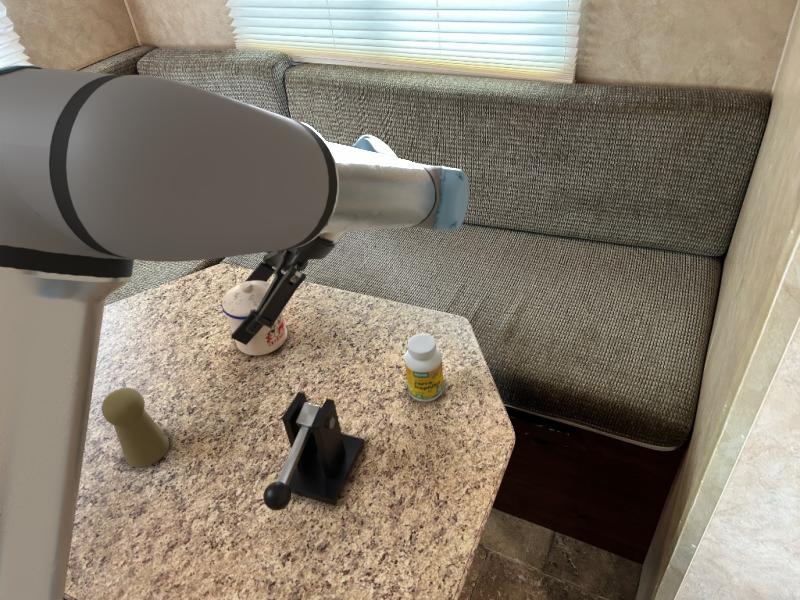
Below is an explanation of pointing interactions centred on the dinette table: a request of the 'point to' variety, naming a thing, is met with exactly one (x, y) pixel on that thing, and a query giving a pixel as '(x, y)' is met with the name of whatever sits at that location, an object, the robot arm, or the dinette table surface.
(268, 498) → the lever with black knob
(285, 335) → the teacup with lid
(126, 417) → the olive green pawn
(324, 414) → the black lever base
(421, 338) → the supplement bottle
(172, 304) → the dinette table surface
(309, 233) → the robot arm
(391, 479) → the dinette table surface
